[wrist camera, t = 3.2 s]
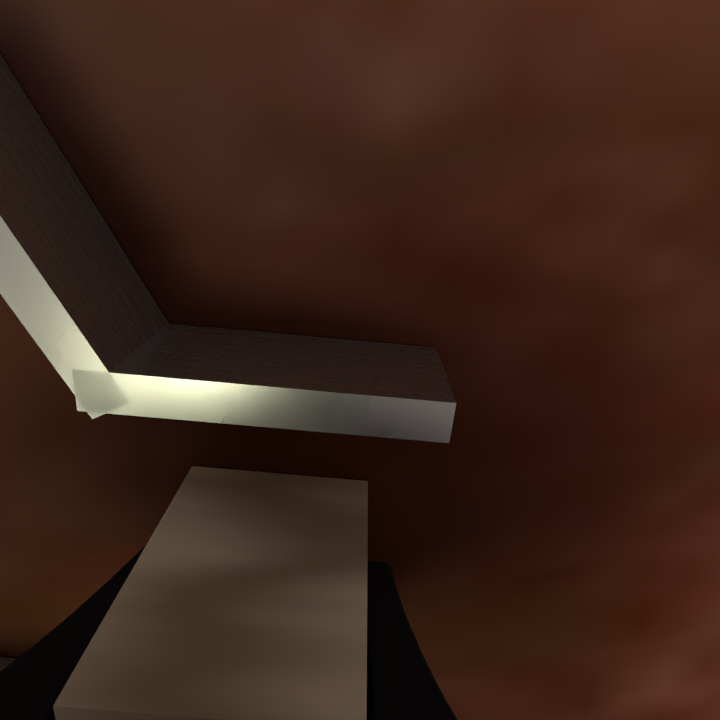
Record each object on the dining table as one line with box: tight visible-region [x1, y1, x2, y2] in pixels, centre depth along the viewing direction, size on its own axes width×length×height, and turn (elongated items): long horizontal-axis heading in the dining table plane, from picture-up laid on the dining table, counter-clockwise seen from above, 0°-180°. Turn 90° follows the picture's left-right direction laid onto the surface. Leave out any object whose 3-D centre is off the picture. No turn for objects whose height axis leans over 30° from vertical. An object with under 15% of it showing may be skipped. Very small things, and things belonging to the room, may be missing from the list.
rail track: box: [0, 54, 456, 671], centre depth 12 cm, size 22×17×3 cm
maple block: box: [53, 466, 368, 720], centre depth 11 cm, size 4×4×6 cm
